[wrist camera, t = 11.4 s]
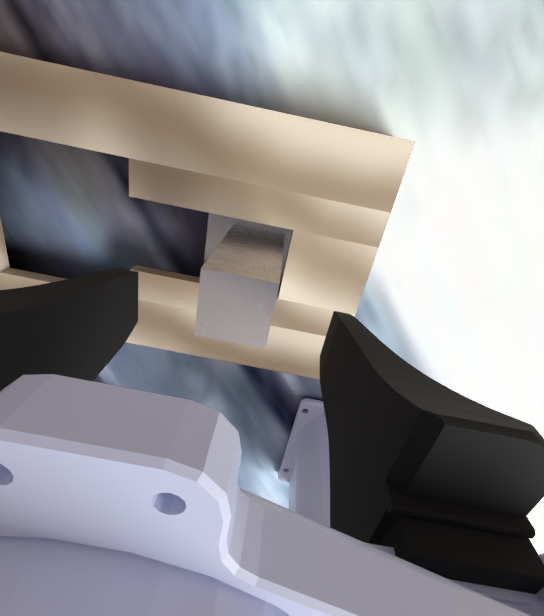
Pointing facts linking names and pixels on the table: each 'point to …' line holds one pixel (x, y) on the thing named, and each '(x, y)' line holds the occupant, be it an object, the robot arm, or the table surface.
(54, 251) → the table surface
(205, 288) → the keyhole key
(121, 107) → the keyhole plate
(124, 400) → the robot arm
